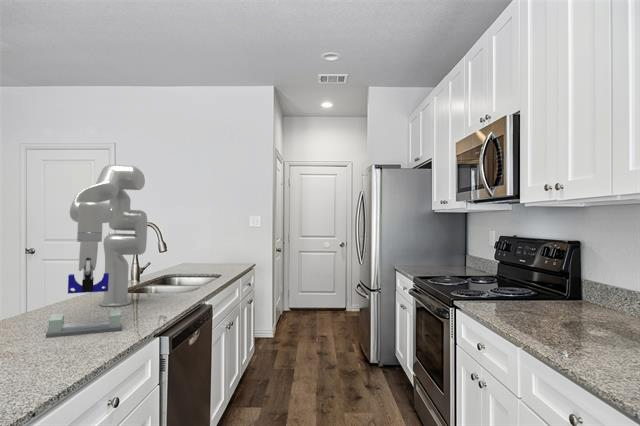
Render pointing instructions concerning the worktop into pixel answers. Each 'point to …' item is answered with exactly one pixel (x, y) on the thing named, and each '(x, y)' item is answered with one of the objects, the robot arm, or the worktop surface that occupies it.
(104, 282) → the cable clip
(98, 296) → the worktop surface
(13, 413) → the worktop surface
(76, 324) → the board
